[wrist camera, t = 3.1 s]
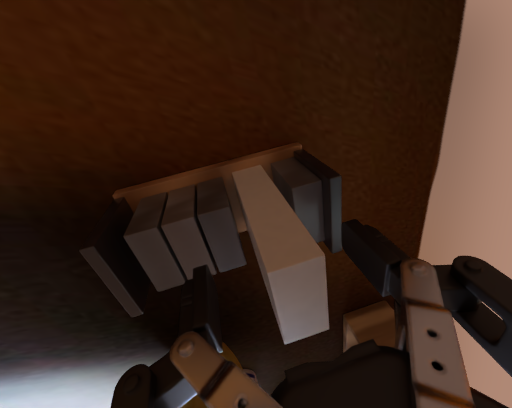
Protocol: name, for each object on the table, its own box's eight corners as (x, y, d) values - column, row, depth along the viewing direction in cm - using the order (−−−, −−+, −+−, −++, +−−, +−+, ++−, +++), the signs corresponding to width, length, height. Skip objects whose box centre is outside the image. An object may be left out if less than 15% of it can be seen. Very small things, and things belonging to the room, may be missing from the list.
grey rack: (297, 141, 19) (342, 170, 13) (304, 207, 23) (342, 254, 17) (115, 190, 18) (74, 246, 12) (151, 252, 21) (133, 320, 15)
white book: (260, 164, 18) (325, 254, 9) (270, 217, 21) (329, 329, 12) (231, 172, 18) (266, 273, 9) (245, 224, 21) (284, 345, 11)
